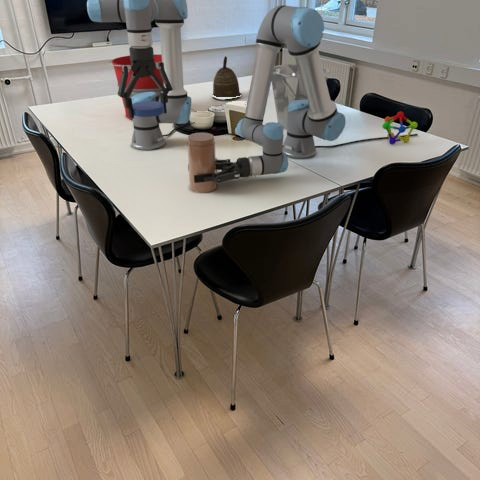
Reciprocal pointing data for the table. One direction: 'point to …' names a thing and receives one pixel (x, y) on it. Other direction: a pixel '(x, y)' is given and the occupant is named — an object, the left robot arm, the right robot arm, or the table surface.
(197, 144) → the jar
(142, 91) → the bucket
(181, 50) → the left robot arm
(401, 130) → the educational toy
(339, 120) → the right robot arm
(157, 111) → the lid
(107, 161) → the table surface
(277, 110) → the bucket
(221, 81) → the bell
